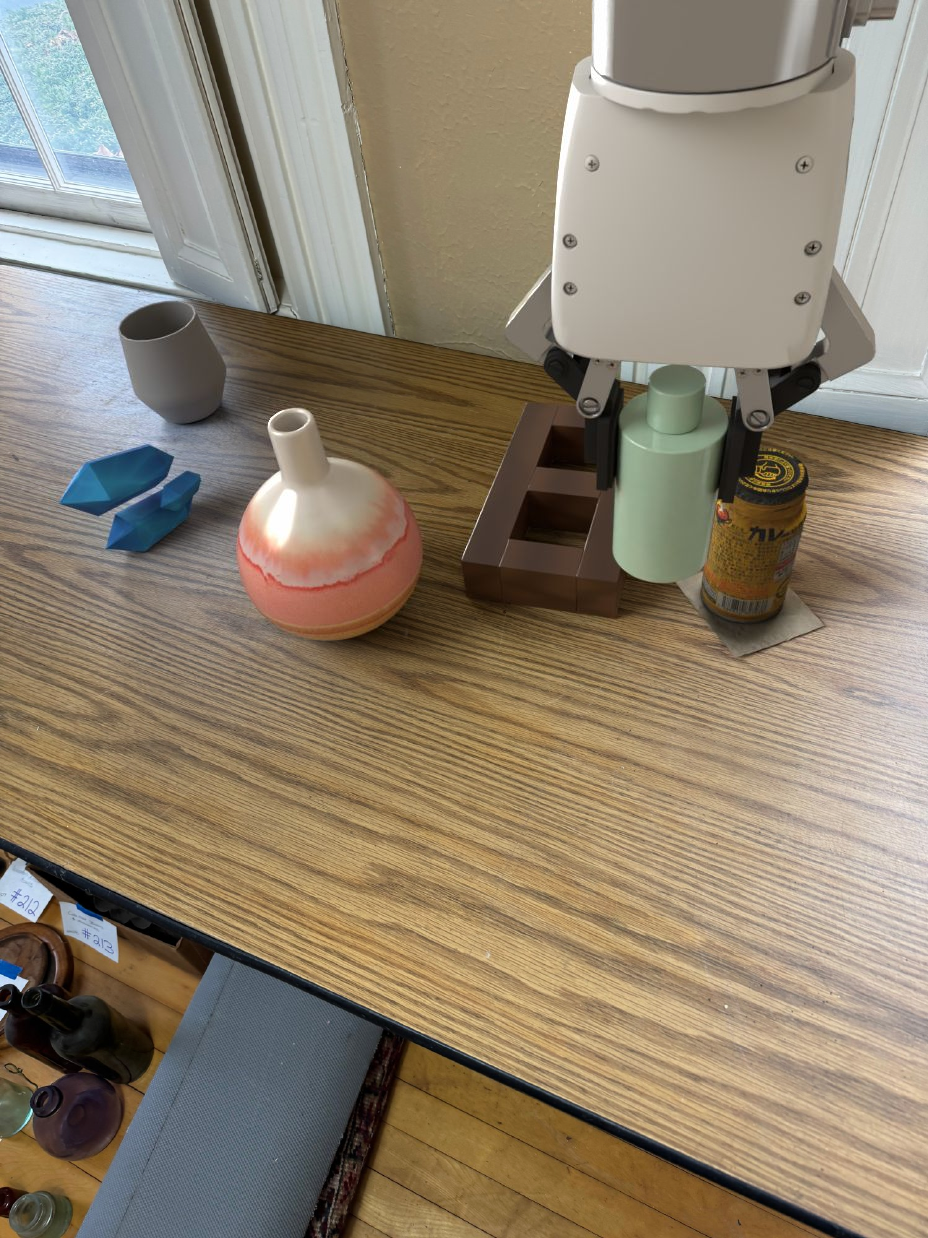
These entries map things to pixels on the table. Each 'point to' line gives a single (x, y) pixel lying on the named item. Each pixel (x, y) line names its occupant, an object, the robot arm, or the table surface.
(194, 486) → the blue crystals
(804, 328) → the robot arm
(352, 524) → the vase
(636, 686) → the table surface
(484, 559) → the peg block
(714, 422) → the bottle
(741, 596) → the condiment
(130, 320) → the cup
